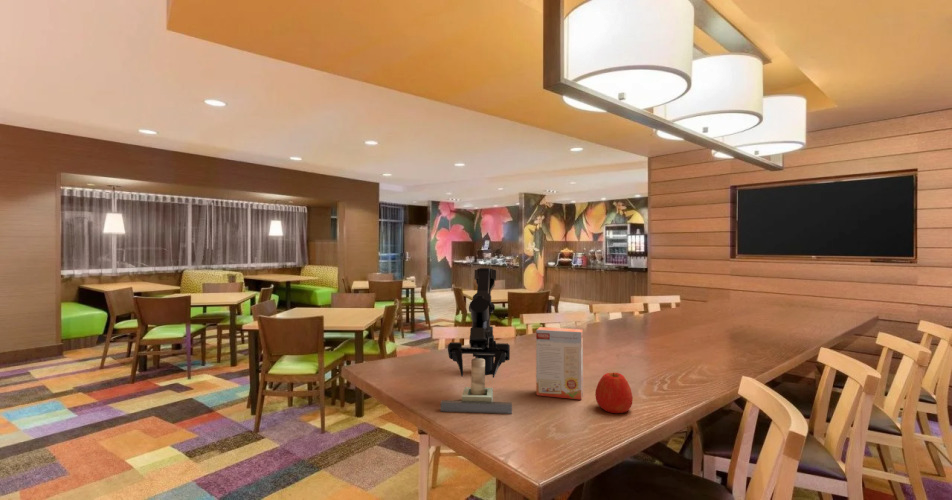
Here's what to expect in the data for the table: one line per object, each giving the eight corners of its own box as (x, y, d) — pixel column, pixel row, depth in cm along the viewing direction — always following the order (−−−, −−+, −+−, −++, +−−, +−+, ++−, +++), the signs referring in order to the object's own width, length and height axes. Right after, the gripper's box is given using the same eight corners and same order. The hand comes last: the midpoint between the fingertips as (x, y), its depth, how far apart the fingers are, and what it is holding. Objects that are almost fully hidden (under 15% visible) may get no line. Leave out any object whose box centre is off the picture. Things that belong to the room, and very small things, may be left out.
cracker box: (583, 394, 138) (583, 328, 138) (581, 400, 132) (581, 331, 132) (539, 389, 142) (539, 325, 142) (535, 395, 137) (535, 328, 137)
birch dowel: (476, 398, 132) (477, 357, 132) (487, 402, 129) (487, 359, 129) (468, 402, 129) (468, 360, 129) (478, 405, 126) (479, 362, 126)
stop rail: (441, 408, 125) (441, 400, 125) (511, 411, 123) (511, 402, 123) (440, 411, 123) (440, 402, 123) (511, 413, 121) (511, 404, 121)
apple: (607, 400, 133) (607, 366, 133) (639, 409, 125) (639, 373, 125) (588, 408, 126) (588, 372, 126) (621, 418, 118) (621, 380, 118)
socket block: (464, 400, 133) (464, 387, 133) (492, 400, 133) (492, 387, 133) (461, 410, 125) (461, 396, 125) (491, 411, 124) (491, 397, 124)
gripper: (448, 316, 133) (442, 361, 122) (509, 317, 132) (509, 362, 121) (452, 336, 141) (446, 380, 130) (509, 337, 140) (509, 382, 129)
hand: (477, 376), depth 127 cm, fingers open, 9 cm apart
